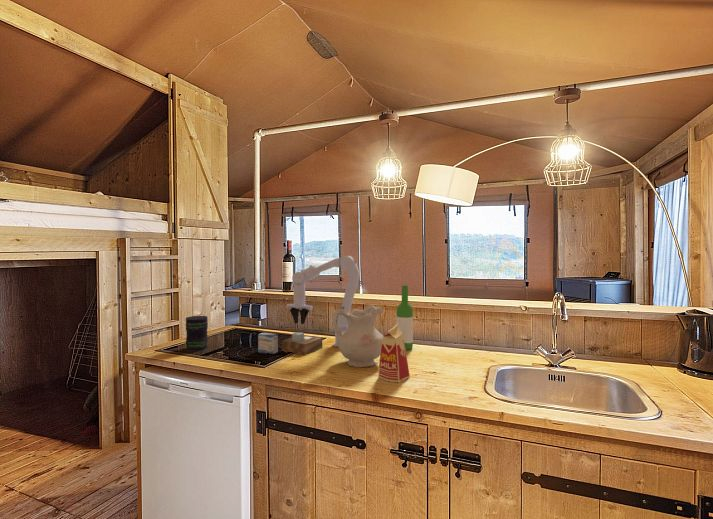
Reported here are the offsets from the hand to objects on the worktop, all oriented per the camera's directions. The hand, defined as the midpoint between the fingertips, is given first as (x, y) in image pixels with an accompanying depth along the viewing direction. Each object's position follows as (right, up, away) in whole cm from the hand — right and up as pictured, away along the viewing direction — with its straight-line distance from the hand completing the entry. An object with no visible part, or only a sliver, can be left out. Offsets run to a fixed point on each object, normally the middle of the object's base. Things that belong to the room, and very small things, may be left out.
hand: (299, 323), depth 201 cm
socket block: (+3, -11, -10) cm, 15 cm away
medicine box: (-12, -11, -14) cm, 22 cm away
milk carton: (+42, -13, -50) cm, 67 cm away
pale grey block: (+1, -7, -13) cm, 15 cm away
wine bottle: (+51, -11, -8) cm, 53 cm away
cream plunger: (+5, -11, -7) cm, 14 cm away
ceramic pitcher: (+29, -12, -32) cm, 45 cm away
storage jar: (-48, -11, -8) cm, 50 cm away
